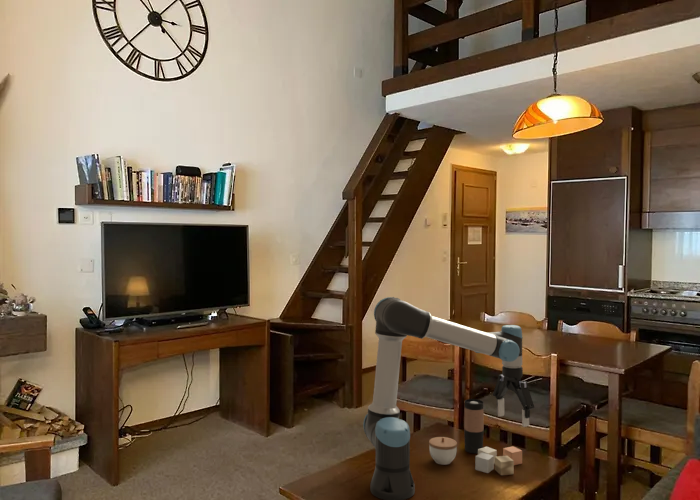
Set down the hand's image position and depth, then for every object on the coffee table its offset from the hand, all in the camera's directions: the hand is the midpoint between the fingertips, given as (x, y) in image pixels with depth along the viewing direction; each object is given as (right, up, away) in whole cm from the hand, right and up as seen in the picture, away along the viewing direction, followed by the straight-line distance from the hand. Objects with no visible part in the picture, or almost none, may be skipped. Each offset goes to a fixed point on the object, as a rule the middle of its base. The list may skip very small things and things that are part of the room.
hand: (513, 420), depth 211 cm
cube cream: (-10, -16, +1) cm, 19 cm away
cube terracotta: (0, -16, +1) cm, 16 cm away
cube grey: (-12, -16, -6) cm, 21 cm away
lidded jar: (-27, -16, +1) cm, 31 cm away
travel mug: (-12, -16, +13) cm, 24 cm away
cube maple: (-6, -17, -8) cm, 19 cm away
